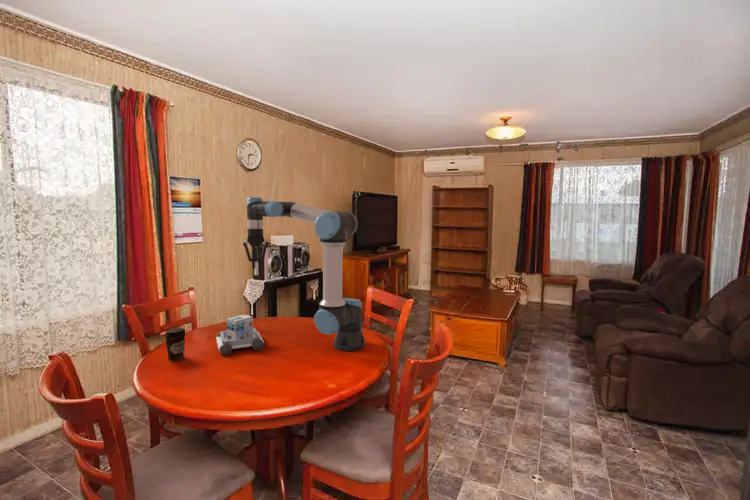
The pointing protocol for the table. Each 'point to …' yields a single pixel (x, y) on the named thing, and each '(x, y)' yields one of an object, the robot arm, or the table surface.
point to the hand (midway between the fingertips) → (256, 274)
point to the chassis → (238, 342)
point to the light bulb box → (240, 327)
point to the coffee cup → (175, 343)
